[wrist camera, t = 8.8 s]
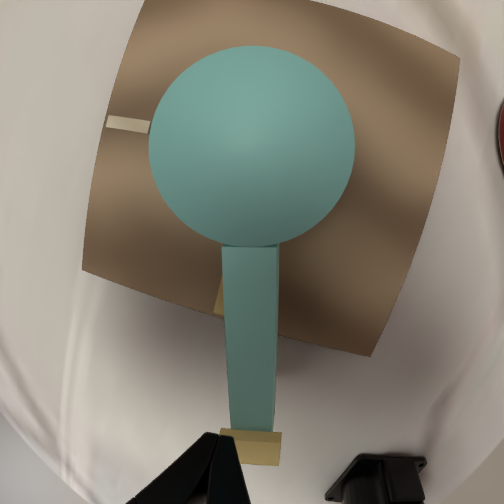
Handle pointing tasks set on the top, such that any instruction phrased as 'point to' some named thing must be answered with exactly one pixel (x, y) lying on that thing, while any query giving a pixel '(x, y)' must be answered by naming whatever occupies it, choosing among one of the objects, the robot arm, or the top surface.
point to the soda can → (501, 133)
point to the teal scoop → (251, 198)
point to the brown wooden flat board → (345, 210)
